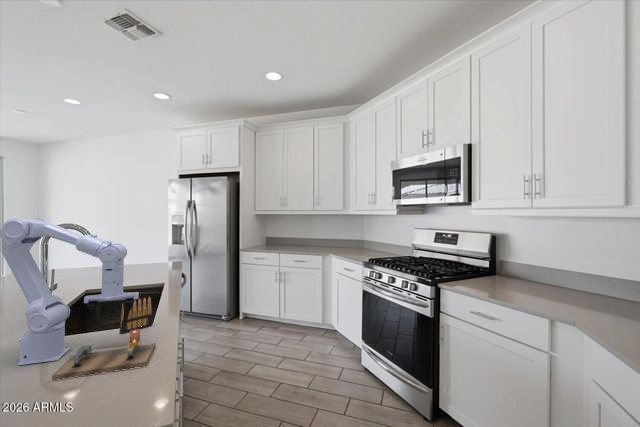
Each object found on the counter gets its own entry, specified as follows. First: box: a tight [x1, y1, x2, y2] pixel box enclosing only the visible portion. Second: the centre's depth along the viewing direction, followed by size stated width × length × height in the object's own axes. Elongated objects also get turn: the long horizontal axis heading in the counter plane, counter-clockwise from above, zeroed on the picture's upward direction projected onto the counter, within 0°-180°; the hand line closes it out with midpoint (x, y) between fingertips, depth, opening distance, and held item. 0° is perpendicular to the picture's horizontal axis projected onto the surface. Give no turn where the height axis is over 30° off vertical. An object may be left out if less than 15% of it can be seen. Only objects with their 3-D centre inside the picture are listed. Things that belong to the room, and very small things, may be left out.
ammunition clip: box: [119, 296, 153, 335], centre depth 110 cm, size 11×2×12 cm, turn 141°
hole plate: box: [51, 342, 156, 381], centre depth 85 cm, size 22×13×2 cm, turn 110°
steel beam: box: [68, 342, 153, 360], centre depth 87 cm, size 21×2×2 cm, turn 110°
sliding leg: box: [128, 329, 141, 359], centre depth 87 cm, size 3×7×6 cm, turn 21°
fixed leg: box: [73, 344, 93, 367], centre depth 82 cm, size 2×7×3 cm, turn 20°
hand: (111, 322), depth 92 cm, fingers open, 7 cm apart
